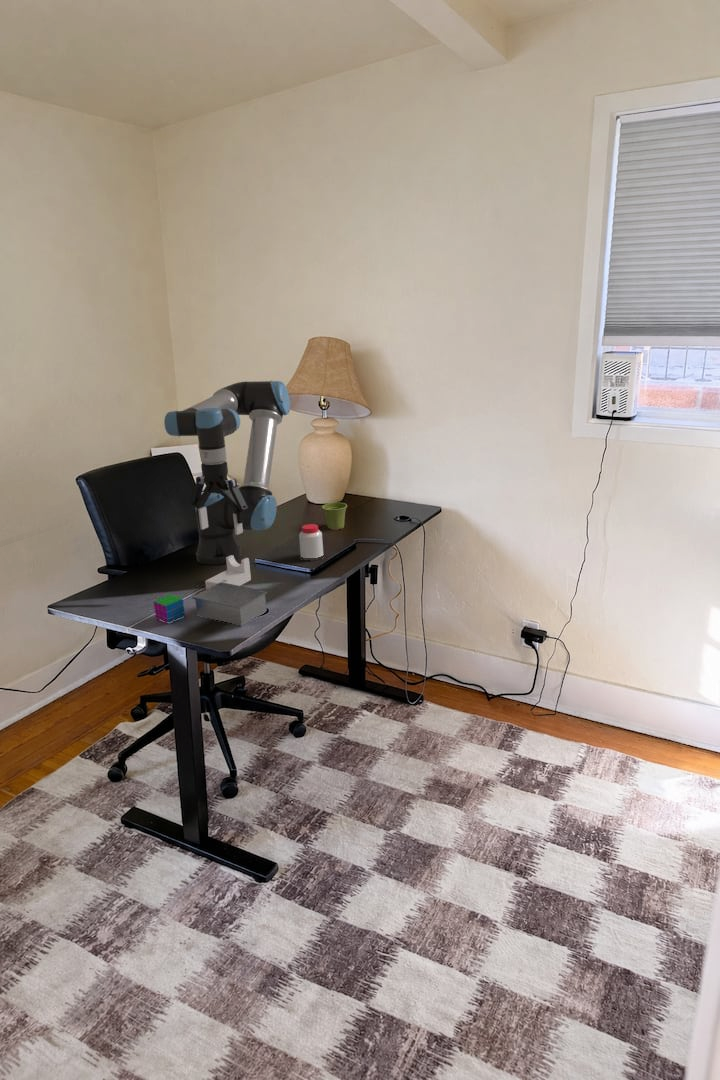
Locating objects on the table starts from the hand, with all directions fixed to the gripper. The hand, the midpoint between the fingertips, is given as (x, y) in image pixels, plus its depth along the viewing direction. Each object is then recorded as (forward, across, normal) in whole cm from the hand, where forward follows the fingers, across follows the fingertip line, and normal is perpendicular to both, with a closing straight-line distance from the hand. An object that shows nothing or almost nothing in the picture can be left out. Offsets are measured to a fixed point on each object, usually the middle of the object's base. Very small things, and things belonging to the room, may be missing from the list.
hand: (221, 530), depth 221 cm
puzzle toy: (+18, +1, -26) cm, 32 cm away
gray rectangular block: (+18, +15, -16) cm, 28 cm away
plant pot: (+18, 0, +63) cm, 66 cm away
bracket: (+18, 0, +1) cm, 19 cm away
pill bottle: (+18, +10, +32) cm, 38 cm away
